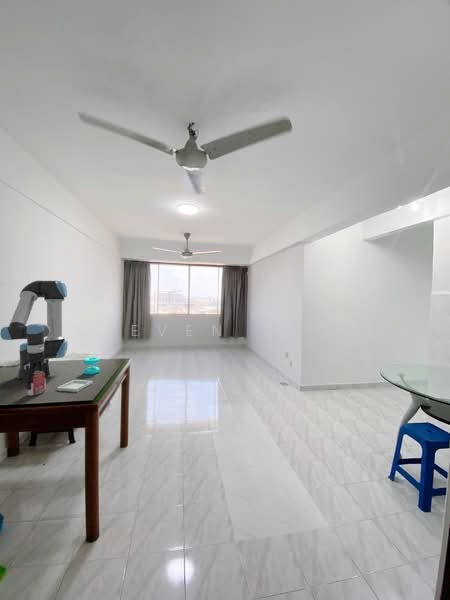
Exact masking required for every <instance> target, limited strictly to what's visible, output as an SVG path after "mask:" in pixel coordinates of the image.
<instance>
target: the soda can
mask: <svg viewBox="0 0 450 600" xmlns="http://www.w3.org/2000/svg"><path fill="white" fill-rule="evenodd" d="M32 383H33V395H32V396H38V395H41V394H43V393H44V392H45V378H44V373H43V371H35V373H34V376H33V380H32Z"/></svg>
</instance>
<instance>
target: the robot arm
mask: <svg viewBox="0 0 450 600" xmlns="http://www.w3.org/2000/svg"><path fill="white" fill-rule="evenodd" d="M67 297H68V291H67V286H66V284H65V282H64V281H63V280H34V281H32V282H30V283H28V284H27V285H25V286H24V287H23V288H22V289H21V291H20V293H19V301H18V303H17V305H16V308H15V311H14V313H13V315H12V317H11V319H10V322H9V325H8V326H3V327H1V330H0V338H1V339H2V340H4V341H15V340H26V342H23V343H21V344H20V345H19V350H18V351H19V368H18V370H17V374H16V378H17V379H18V380H22V384H23V385H26V390H27V395H28V396H34V395H33V383H32V380H33V376H34V373H35V371H43V373H44V378H45V390H47V379H48V378H49V376H50V373H51V372H50V368H49V367H50V366H49V360H50V359H60V358H65V356H66V354H67V352H68V345H69V344H68V341H67V340H65V339H66V338H65V337H64V336H63V310H62V309H63V302H64V301H65V298H67ZM39 298H44V302H46V324H42V323H32V324H28V325H27V323H28V321H29V318H30V316H31V312H32V309H33V307H34V304H35V302H36V301H37V300H38V299H39ZM45 390H44V391H45Z"/></svg>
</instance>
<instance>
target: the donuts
mask: <svg viewBox="0 0 450 600" xmlns="http://www.w3.org/2000/svg"><path fill="white" fill-rule="evenodd" d="M99 362H100V358H99V357H95V356H94V357H93V356H91V357H87V358H85V359H84V360H83V362H82V363H83V364H84V365H87V366H88V367H86V368H84V370H83V374H84V375H88V376H89V375H95V374H98V373H99V372H100V370H101V369H100V367H98V366H92V365H96V364H98V363H99Z"/></svg>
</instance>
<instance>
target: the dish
mask: <svg viewBox="0 0 450 600" xmlns="http://www.w3.org/2000/svg"><path fill="white" fill-rule="evenodd" d="M93 381H94V380H83V379H73V380H70V381H68V382H66V383H64V384H62V385H59V386H57V387H56V391H57V392H67V393H68V392H70V393H78V392H79V391H82V390H83V389H86V388H88V387H89V386H91V385H93Z"/></svg>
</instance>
